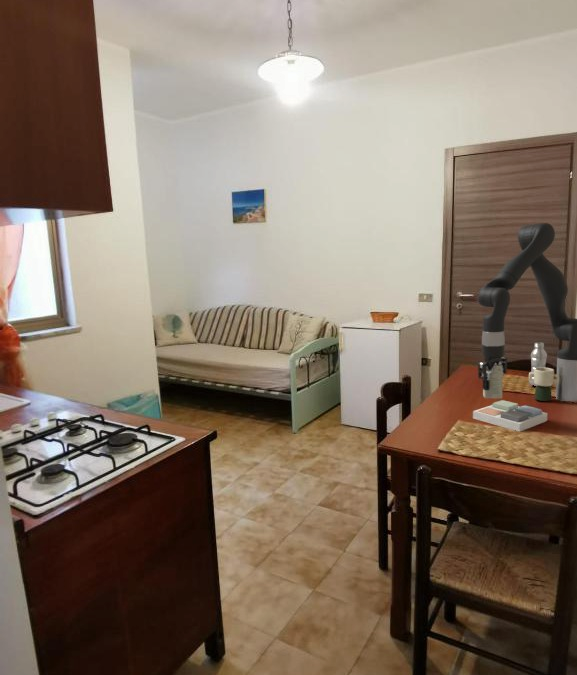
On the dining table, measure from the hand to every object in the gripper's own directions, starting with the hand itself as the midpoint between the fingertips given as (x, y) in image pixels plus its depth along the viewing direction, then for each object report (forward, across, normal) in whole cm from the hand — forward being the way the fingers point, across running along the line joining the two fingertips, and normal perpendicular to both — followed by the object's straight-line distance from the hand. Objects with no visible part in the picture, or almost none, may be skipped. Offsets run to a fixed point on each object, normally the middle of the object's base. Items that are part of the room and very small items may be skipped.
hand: (492, 387), depth 174 cm
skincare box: (+4, 0, 0) cm, 4 cm away
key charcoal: (+9, 0, +9) cm, 13 cm away
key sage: (+10, -8, 0) cm, 13 cm away
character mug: (+13, -35, -1) cm, 37 cm away
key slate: (+10, -8, +9) cm, 15 cm away
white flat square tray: (+12, -4, +4) cm, 13 cm away
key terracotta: (+11, 0, 0) cm, 11 cm away
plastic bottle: (+13, -52, -13) cm, 55 cm away
